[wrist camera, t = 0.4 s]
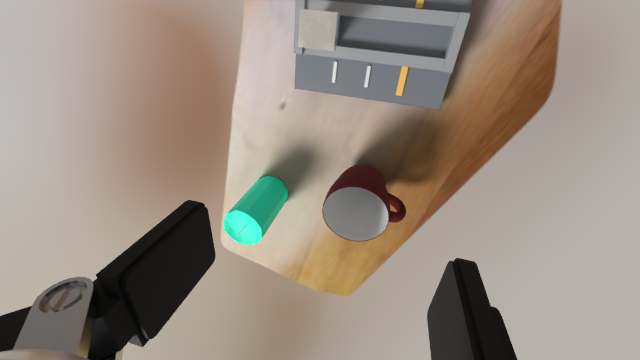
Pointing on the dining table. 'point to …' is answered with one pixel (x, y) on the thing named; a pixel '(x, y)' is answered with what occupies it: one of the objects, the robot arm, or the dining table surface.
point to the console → (386, 50)
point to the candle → (256, 211)
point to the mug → (360, 205)
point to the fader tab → (319, 29)
